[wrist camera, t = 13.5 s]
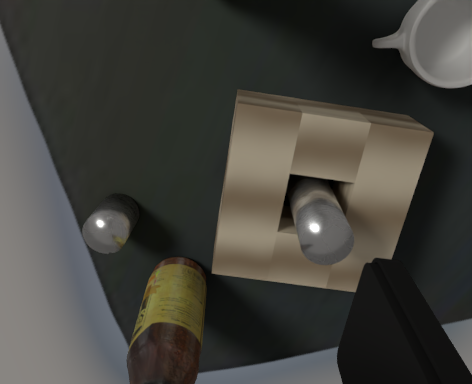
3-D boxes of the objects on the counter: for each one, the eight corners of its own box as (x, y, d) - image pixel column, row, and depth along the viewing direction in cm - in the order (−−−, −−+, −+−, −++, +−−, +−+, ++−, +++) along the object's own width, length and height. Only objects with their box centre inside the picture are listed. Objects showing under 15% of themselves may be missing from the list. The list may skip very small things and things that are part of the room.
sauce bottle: (145, 256, 47) (88, 415, 29) (203, 250, 47) (181, 408, 29) (157, 306, 50) (110, 481, 32) (212, 301, 50) (196, 475, 31)
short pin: (92, 206, 45) (73, 228, 41) (122, 186, 44) (106, 206, 40) (117, 235, 46) (101, 260, 42) (147, 216, 45) (134, 240, 41)
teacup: (484, -21, 37) (522, -25, 32) (474, 73, 40) (507, 84, 35) (362, -7, 37) (382, -9, 32) (362, 85, 40) (379, 96, 35)
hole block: (237, 89, 40) (237, 103, 35) (407, 115, 41) (433, 132, 36) (214, 241, 47) (211, 273, 41) (363, 261, 47) (379, 295, 42)
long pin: (289, 160, 43) (306, 214, 32) (329, 166, 43) (360, 221, 32) (281, 197, 45) (295, 261, 34) (320, 202, 45) (346, 268, 34)
